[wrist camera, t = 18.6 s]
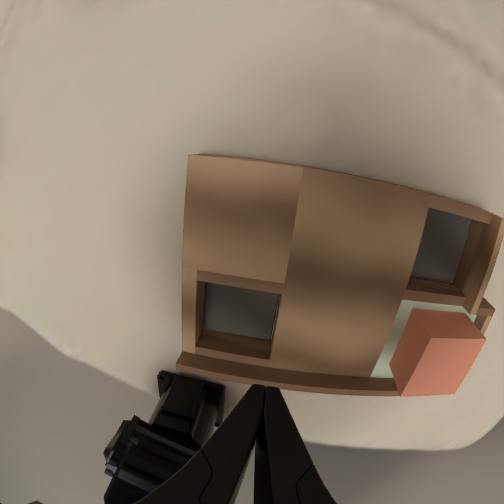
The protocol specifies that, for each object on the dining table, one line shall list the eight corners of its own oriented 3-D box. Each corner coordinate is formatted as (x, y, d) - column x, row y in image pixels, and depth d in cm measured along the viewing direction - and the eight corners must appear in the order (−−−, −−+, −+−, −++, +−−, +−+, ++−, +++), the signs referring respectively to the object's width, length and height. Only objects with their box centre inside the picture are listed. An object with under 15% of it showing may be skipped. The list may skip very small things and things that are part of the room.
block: (439, 364, 19) (454, 393, 16) (388, 364, 19) (400, 396, 16) (464, 312, 17) (486, 339, 14) (412, 308, 18) (430, 337, 14)
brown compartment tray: (437, 365, 22) (452, 393, 18) (191, 339, 23) (176, 369, 20) (496, 213, 17) (526, 227, 13) (200, 153, 18) (179, 155, 15)
